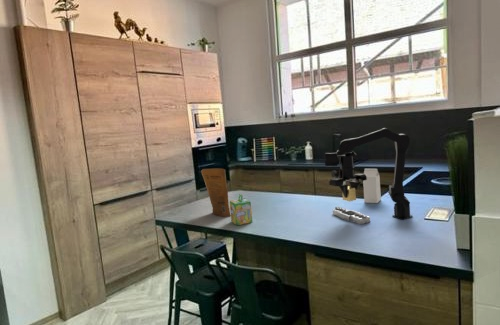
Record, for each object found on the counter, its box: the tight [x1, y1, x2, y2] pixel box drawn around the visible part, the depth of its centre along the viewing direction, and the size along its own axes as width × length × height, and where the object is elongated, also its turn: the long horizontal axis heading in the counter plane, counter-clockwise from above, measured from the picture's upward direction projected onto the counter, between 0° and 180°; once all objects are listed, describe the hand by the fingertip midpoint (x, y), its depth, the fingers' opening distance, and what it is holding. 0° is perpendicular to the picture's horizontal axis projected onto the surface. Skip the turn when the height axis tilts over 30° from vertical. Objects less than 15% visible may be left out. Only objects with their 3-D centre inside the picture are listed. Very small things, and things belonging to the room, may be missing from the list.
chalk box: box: [229, 193, 253, 226], centre depth 178 cm, size 9×9×15 cm
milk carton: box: [362, 168, 382, 204], centre depth 191 cm, size 7×7×19 cm
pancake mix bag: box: [200, 167, 231, 218], centre depth 195 cm, size 7×19×28 cm, turn 45°
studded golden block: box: [341, 185, 357, 202], centre depth 166 cm, size 5×4×7 cm
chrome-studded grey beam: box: [332, 206, 371, 225], centre depth 167 cm, size 22×8×3 cm, turn 23°
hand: (349, 196), depth 166 cm, fingers closed on studded golden block, 4 cm apart
